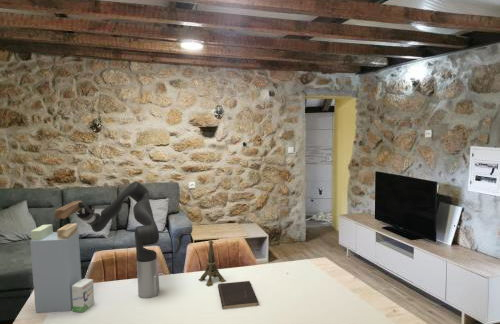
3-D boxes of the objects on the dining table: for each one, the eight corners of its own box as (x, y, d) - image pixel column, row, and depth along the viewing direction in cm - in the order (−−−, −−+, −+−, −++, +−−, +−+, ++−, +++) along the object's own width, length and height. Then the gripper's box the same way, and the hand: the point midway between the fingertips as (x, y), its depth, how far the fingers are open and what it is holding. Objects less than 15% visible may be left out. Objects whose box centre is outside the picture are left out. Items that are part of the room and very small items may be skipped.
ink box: (85, 302, 168) (83, 277, 167) (95, 303, 167) (93, 278, 166) (72, 312, 160) (70, 285, 159) (82, 313, 159) (81, 286, 158)
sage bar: (52, 232, 169) (52, 224, 169) (41, 240, 158) (40, 230, 158) (44, 233, 169) (43, 224, 169) (31, 240, 158) (30, 231, 158)
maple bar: (77, 231, 170) (76, 223, 169) (67, 238, 159) (66, 229, 159) (68, 232, 170) (68, 223, 169) (57, 239, 159) (57, 230, 158)
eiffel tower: (215, 275, 197) (214, 229, 195) (226, 281, 189) (224, 233, 186) (198, 280, 191) (196, 233, 189) (208, 286, 183) (206, 237, 180)
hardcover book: (249, 285, 184) (249, 280, 184) (258, 306, 162) (258, 301, 162) (217, 288, 182) (217, 283, 182) (222, 310, 159) (222, 305, 159)
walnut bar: (82, 208, 189) (82, 200, 188) (64, 218, 167) (63, 210, 166) (74, 208, 188) (74, 201, 188) (55, 219, 166) (54, 210, 166)
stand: (82, 297, 174) (78, 231, 171) (71, 311, 161) (66, 239, 158) (50, 299, 173) (45, 232, 170) (35, 312, 160) (30, 241, 157)
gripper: (74, 208, 200) (60, 197, 184) (100, 207, 201) (90, 196, 185) (72, 221, 197) (58, 211, 181) (99, 220, 198) (88, 210, 182)
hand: (74, 204), depth 183 cm, fingers closed on walnut bar, 4 cm apart
